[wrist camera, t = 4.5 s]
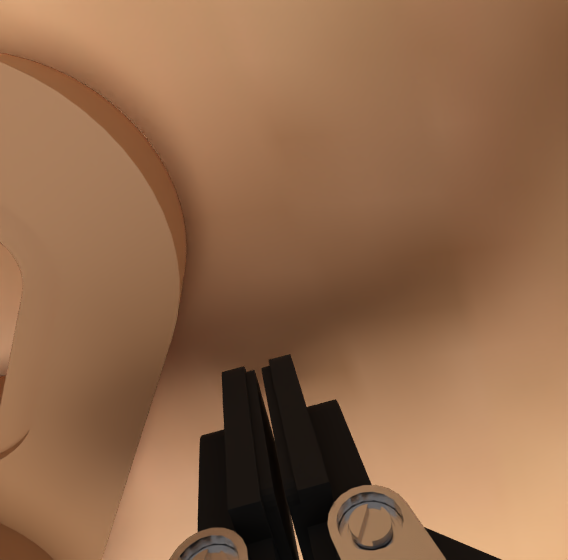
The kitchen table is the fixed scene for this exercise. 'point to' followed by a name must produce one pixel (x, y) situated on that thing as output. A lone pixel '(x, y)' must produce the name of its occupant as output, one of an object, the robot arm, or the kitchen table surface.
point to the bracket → (79, 308)
